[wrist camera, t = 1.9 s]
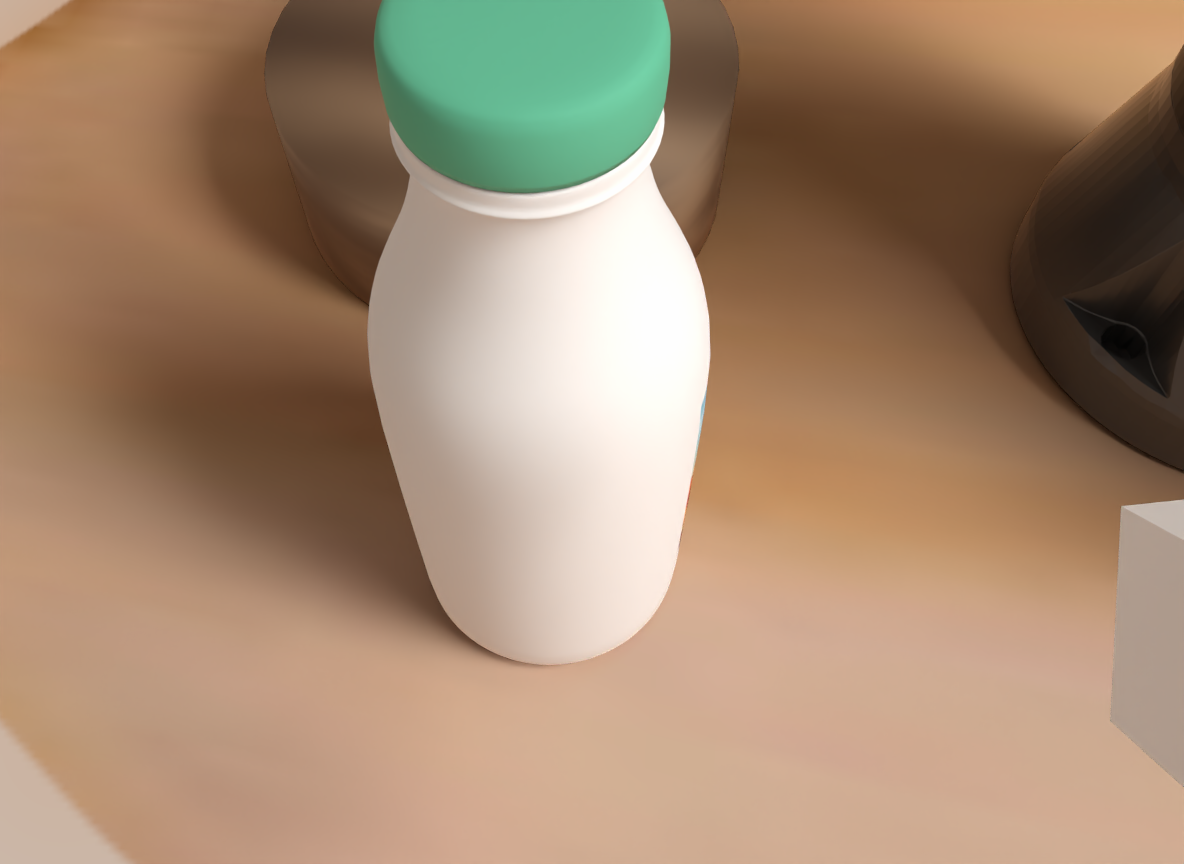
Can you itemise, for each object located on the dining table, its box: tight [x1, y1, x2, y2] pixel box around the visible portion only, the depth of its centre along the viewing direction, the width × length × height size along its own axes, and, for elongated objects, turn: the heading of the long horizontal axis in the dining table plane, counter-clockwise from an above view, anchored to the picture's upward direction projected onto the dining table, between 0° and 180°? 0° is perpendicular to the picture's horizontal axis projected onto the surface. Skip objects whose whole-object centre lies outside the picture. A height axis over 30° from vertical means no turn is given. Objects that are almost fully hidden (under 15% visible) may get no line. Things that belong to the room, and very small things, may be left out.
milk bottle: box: [367, 0, 710, 665], centre depth 25 cm, size 8×8×20 cm
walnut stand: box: [264, 0, 739, 305], centre depth 39 cm, size 16×16×6 cm
